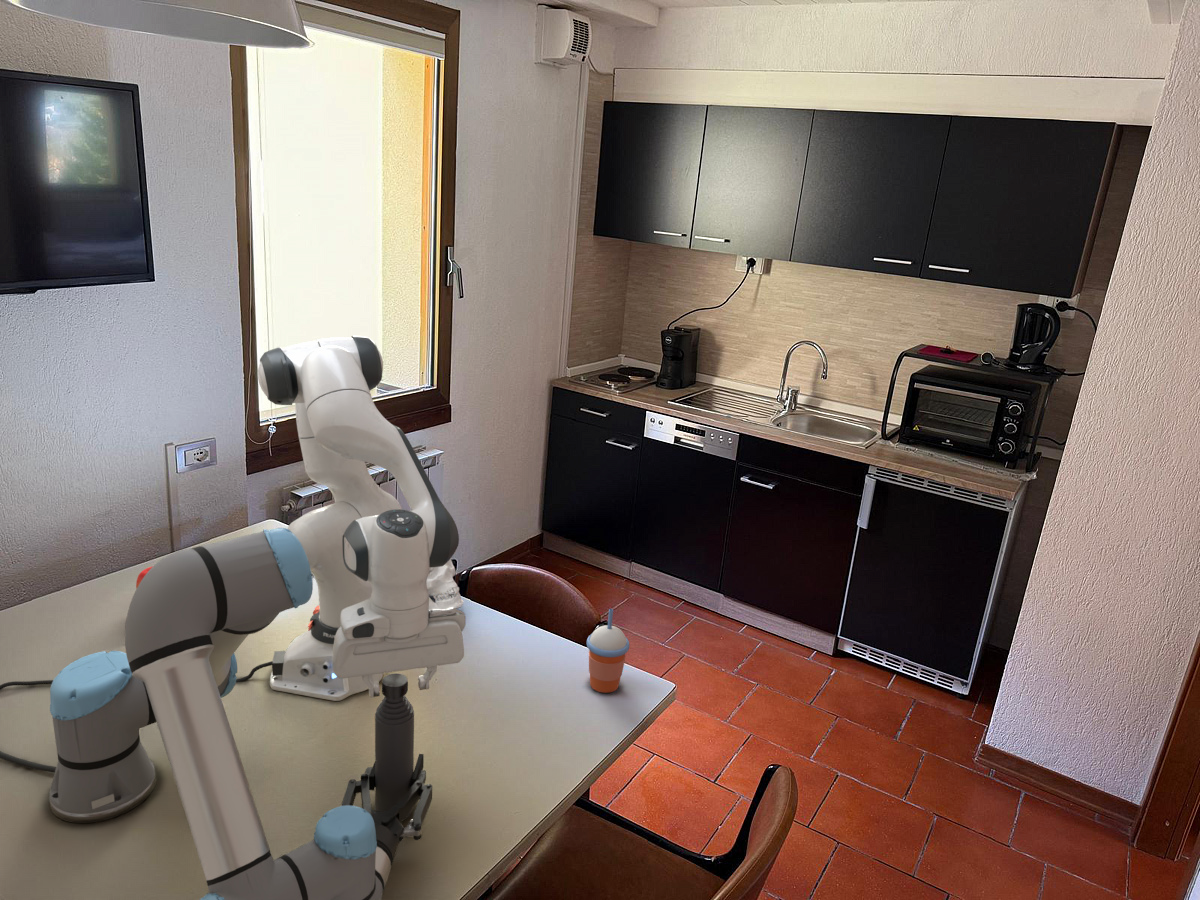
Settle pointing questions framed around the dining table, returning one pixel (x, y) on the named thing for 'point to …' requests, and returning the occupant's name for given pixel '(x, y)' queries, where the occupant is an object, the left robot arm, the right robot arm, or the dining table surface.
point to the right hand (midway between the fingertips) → (399, 691)
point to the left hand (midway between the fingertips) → (401, 759)
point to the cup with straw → (606, 656)
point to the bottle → (393, 752)
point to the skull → (443, 587)
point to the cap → (394, 686)
